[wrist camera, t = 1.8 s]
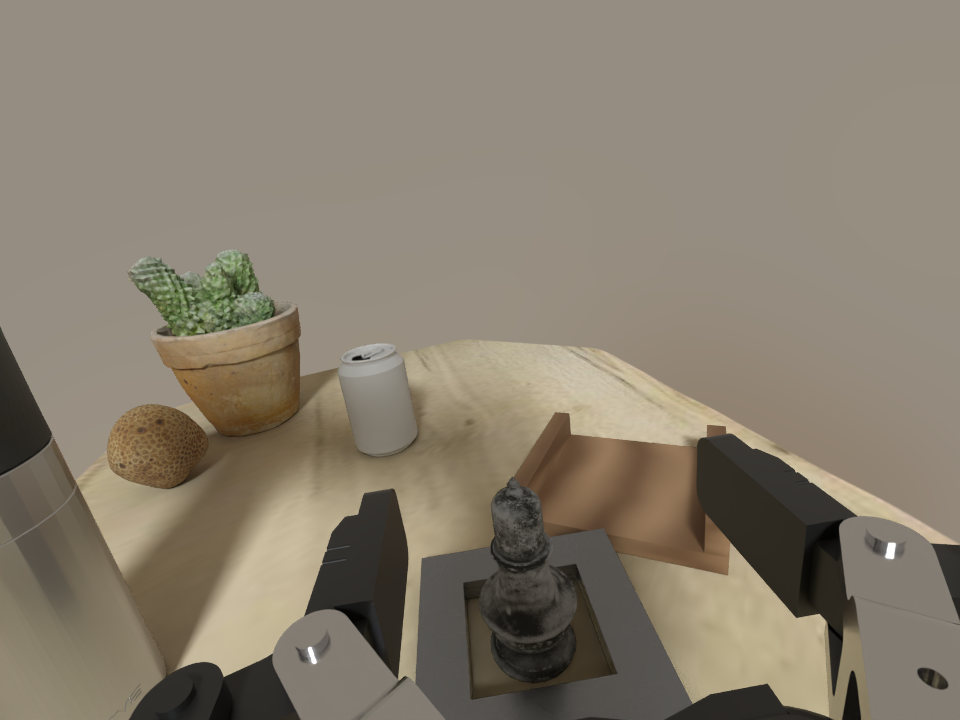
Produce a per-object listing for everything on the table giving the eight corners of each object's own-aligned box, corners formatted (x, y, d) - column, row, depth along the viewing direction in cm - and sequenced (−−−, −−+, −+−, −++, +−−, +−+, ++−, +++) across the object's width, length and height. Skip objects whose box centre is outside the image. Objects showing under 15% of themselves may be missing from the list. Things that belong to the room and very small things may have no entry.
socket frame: (416, 797, 22) (410, 776, 21) (425, 573, 35) (421, 558, 35) (701, 744, 22) (702, 723, 22) (604, 543, 36) (603, 528, 35)
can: (347, 445, 57) (324, 354, 53) (401, 423, 61) (383, 336, 57) (373, 468, 51) (348, 367, 47) (430, 441, 55) (412, 346, 51)
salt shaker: (547, 588, 32) (531, 438, 28) (600, 656, 27) (590, 485, 23) (471, 626, 30) (443, 470, 26) (513, 707, 25) (486, 529, 21)
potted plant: (260, 391, 80) (215, 244, 72) (348, 394, 73) (309, 232, 65) (160, 445, 64) (86, 265, 56) (260, 456, 57) (193, 252, 49)
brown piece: (511, 529, 38) (505, 489, 37) (558, 445, 50) (555, 412, 49) (728, 575, 31) (730, 527, 30) (723, 464, 43) (725, 426, 42)
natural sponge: (103, 508, 50) (64, 427, 47) (169, 463, 58) (139, 391, 55) (173, 509, 48) (137, 425, 45) (230, 462, 56) (204, 388, 53)
